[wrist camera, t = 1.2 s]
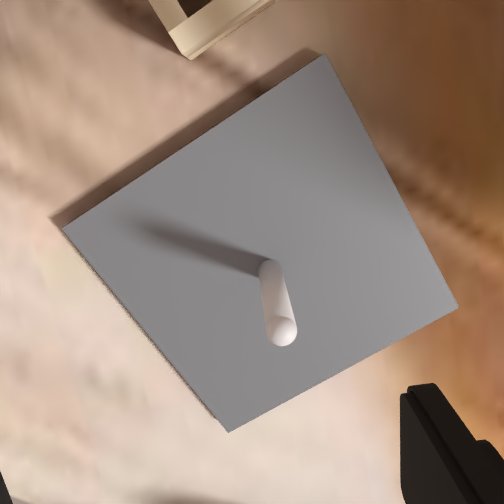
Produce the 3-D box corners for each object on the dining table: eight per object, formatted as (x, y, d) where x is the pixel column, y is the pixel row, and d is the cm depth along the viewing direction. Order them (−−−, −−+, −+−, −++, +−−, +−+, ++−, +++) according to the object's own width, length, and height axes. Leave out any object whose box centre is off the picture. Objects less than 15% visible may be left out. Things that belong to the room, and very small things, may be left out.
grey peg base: (321, 54, 28) (368, 34, 18) (451, 300, 34) (539, 384, 24) (67, 224, 31) (-10, 285, 21) (228, 422, 37) (226, 541, 27)
